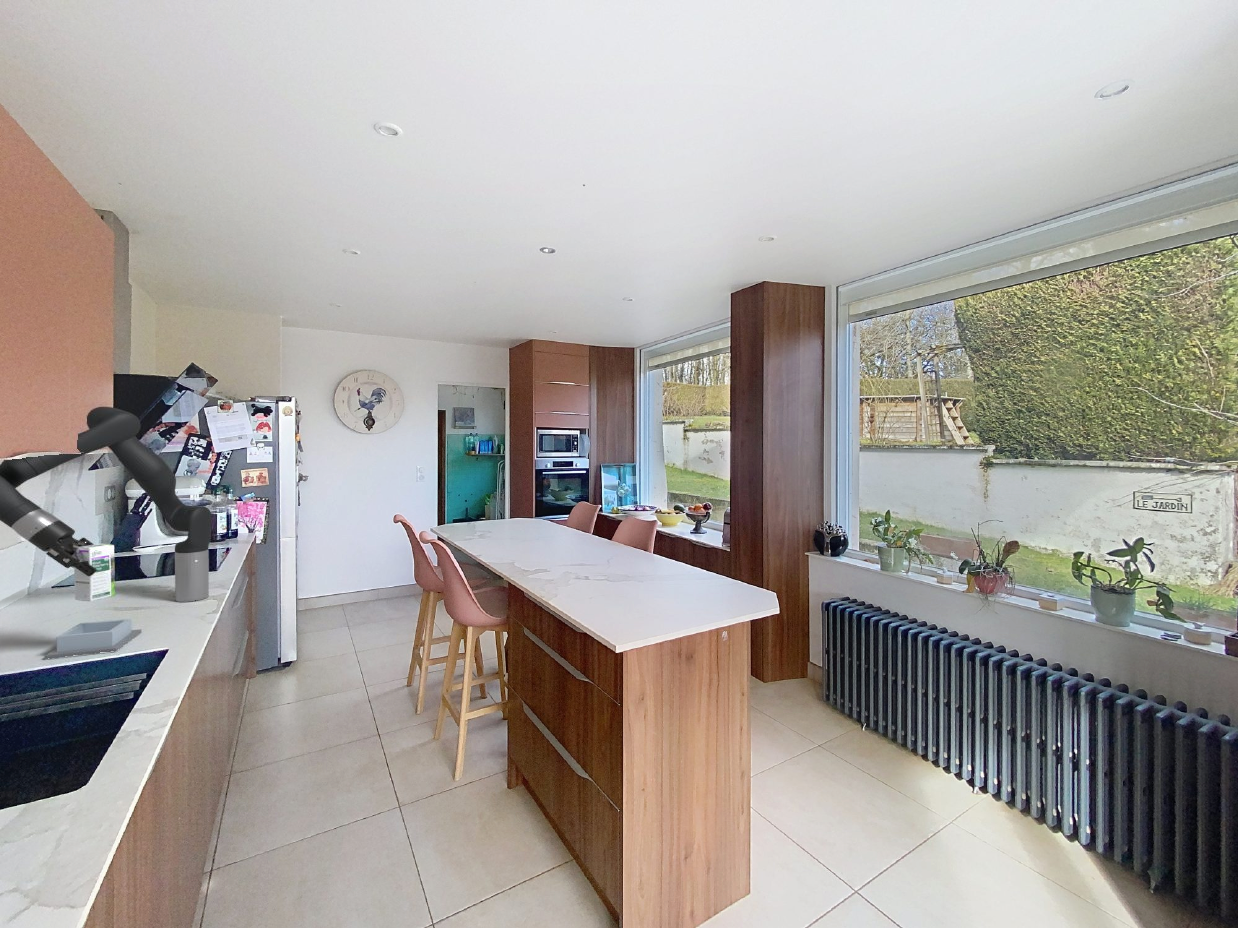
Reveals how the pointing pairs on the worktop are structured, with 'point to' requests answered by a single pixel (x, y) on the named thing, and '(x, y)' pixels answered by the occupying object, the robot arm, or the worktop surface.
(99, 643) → the holder
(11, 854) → the worktop surface
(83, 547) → the syrup box
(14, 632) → the worktop surface
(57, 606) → the worktop surface
